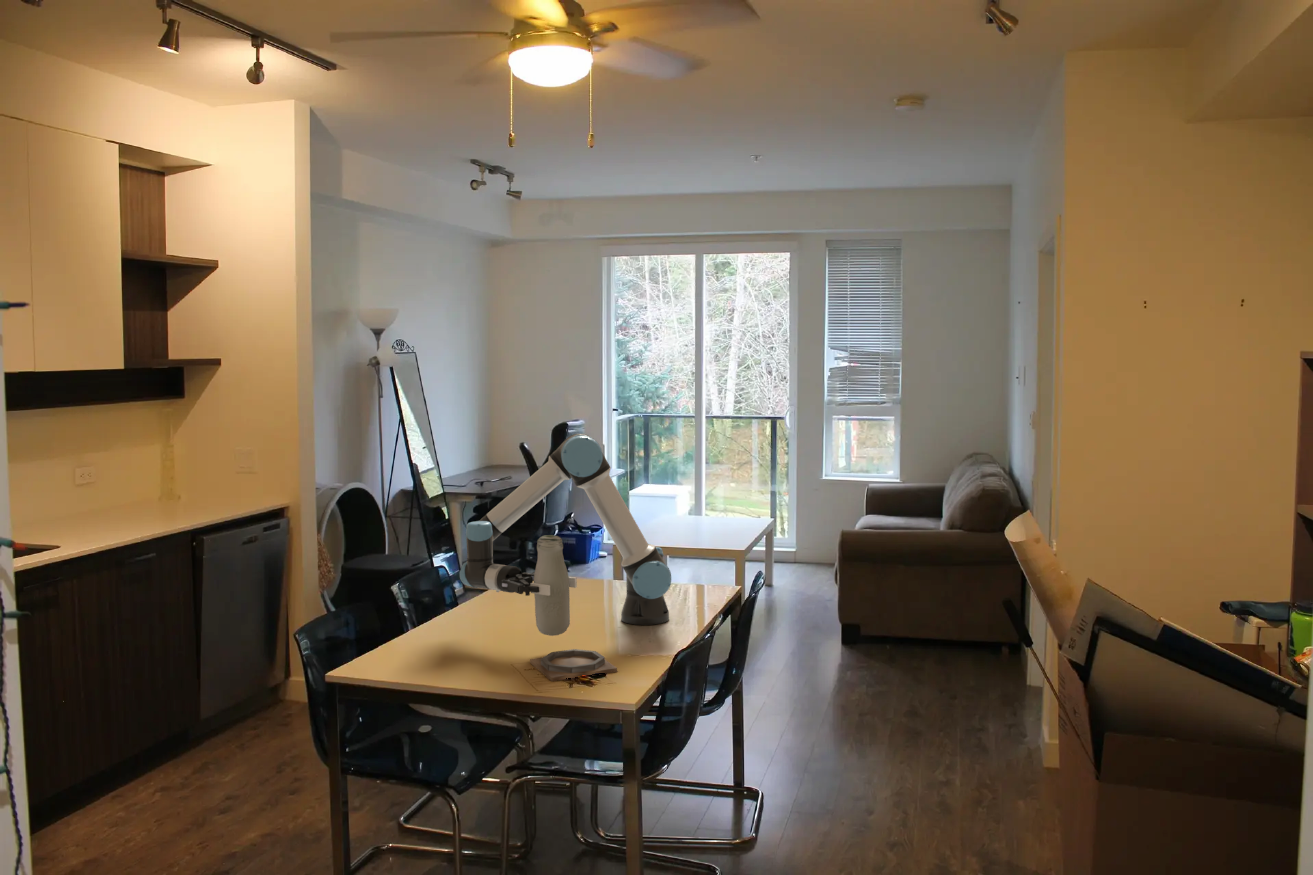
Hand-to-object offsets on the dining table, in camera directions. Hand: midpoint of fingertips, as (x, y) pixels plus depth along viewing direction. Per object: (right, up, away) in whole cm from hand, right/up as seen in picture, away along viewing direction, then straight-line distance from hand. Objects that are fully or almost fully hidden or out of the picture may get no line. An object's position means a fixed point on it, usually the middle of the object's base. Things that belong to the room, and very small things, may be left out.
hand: (562, 586), depth 271 cm
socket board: (+4, -20, -11) cm, 23 cm away
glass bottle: (-3, -14, +3) cm, 15 cm away
